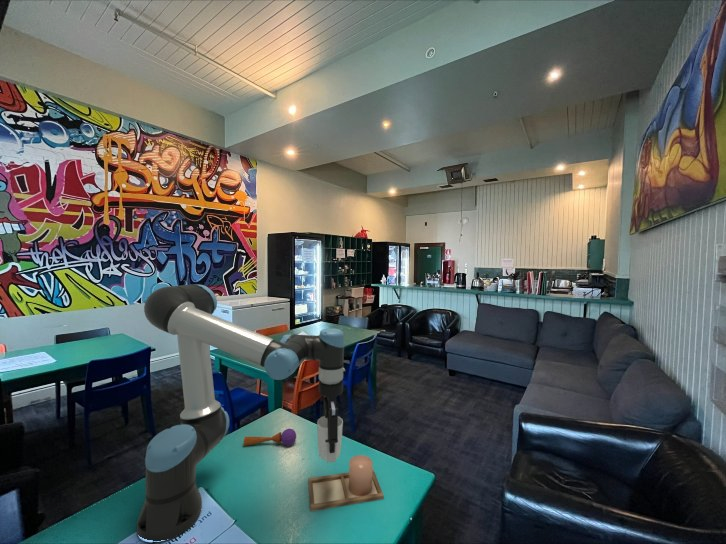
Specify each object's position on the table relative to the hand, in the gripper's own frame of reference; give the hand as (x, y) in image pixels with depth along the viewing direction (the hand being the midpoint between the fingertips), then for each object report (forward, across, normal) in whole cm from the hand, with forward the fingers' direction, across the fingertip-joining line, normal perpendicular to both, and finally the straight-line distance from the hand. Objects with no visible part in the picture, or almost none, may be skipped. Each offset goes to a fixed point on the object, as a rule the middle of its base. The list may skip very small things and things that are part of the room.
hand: (329, 452), depth 91 cm
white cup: (0, 0, 0) cm, 0 cm away
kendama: (+14, +31, +19) cm, 39 cm away
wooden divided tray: (+14, 0, -5) cm, 15 cm away
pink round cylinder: (+13, 0, -10) cm, 16 cm away
